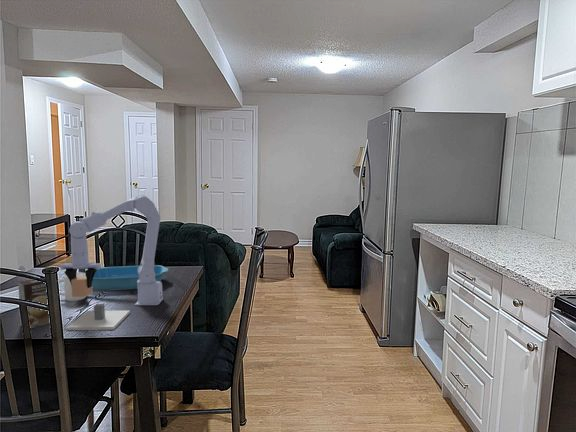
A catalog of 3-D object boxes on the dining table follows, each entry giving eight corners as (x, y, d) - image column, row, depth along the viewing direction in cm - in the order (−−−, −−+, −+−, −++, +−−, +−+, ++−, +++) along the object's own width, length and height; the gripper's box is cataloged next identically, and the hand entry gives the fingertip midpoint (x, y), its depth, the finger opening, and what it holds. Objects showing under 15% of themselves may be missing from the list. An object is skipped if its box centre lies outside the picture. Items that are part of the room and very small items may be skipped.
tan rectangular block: (92, 292, 162) (91, 276, 161) (86, 296, 157) (85, 279, 156) (78, 292, 162) (77, 276, 161) (72, 296, 157) (71, 279, 156)
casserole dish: (169, 276, 210) (169, 262, 209) (167, 289, 189) (166, 274, 188) (91, 281, 202) (90, 267, 201) (80, 295, 180) (79, 279, 179)
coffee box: (27, 330, 142) (23, 285, 140) (20, 325, 146) (16, 281, 144) (55, 322, 149) (52, 279, 147) (48, 318, 153) (45, 276, 151)
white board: (129, 312, 158) (129, 297, 157) (113, 329, 142) (112, 312, 141) (87, 313, 157) (86, 298, 157) (66, 330, 142) (65, 313, 141)
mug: (52, 302, 170) (50, 278, 168) (59, 296, 178) (57, 273, 176) (83, 300, 172) (82, 276, 171) (89, 294, 180) (87, 271, 179)
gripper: (54, 255, 153) (57, 290, 155) (94, 254, 154) (96, 290, 155) (64, 251, 160) (67, 285, 162) (102, 251, 161) (104, 284, 162)
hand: (82, 287), depth 159 cm, fingers closed on tan rectangular block, 5 cm apart
